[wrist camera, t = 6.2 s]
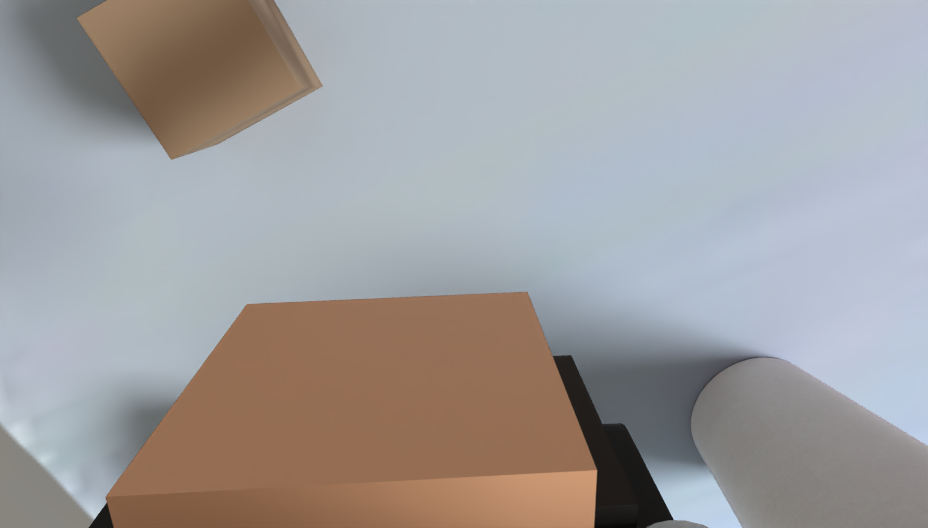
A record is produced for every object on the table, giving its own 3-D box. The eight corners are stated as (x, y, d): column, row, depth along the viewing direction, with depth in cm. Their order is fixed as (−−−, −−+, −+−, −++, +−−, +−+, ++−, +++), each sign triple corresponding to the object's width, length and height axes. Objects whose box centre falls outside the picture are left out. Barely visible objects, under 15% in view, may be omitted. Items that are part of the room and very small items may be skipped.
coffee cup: (638, 485, 32) (817, 820, 17) (691, 314, 29) (953, 545, 15) (808, 505, 33) (1106, 836, 19) (874, 342, 30) (1280, 583, 16)
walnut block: (144, 29, 24) (76, 18, 19) (254, -35, 24) (212, -62, 19) (218, 144, 26) (171, 159, 21) (323, 86, 25) (299, 88, 20)
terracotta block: (247, 304, 11) (105, 497, 6) (527, 291, 11) (597, 470, 6) (282, 530, 13) (191, 819, 8) (525, 516, 13) (579, 790, 8)
